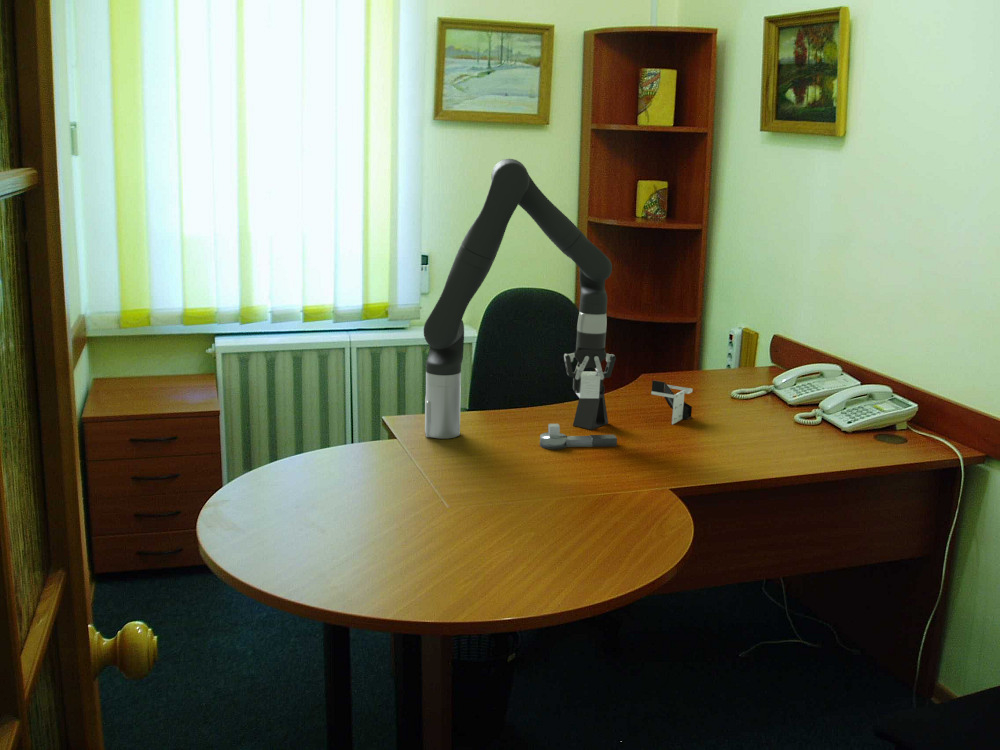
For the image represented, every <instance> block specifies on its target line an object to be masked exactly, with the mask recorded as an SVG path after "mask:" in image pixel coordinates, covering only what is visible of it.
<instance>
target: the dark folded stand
mask: <svg viewBox="0 0 1000 750" xmlns="http://www.w3.org/2000/svg"><path fill="white" fill-rule="evenodd" d="M605 397H606V396H605V385H604V384H603V389H602V391H600V393H599V398H579V397H578V398H579V399H578V402H577V407H576V411H575V416H574V419H573V424H572V426H573V427H576V426H577V428H580V427H581V428H582V429H584V428H585V430H590V431H593V430H596V429H598V428H602V427H603V426H605V425H609V417H608V411H607V405H606V400H605Z"/></svg>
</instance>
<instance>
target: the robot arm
mask: <svg viewBox="0 0 1000 750" xmlns="http://www.w3.org/2000/svg"><path fill="white" fill-rule="evenodd" d="M518 206H519V207H520V208H522V209H523V210H524V211H525V212H526V214H528V215H529V216H530V218H531V219H532V220H533V221H534V222H535V223H536V224H537V226H538V227H539V228H540V230H541V231H542V232H543V233H544V235H545V236H547V238H549V240H550V241H551V242H552V243H553V244H554V245H555V246H556V247H557V248H558V250H560V251H561V252H562V254H563V255H565V256H566V257H567V258H569V259H571V260H572V261H573V262H574V263H575V265H577V266H578V268H579V286H580V287H579V288H580V298H579V310H578V311H579V312H578V313H579V314H578V318H577V325H576V342H575V343H576V344H575V350H574V352H572V353H564V354H563V361H564V365H565V371H566V374H567V376H568V377H569V378H572V389H573V391H574V393H575V394H576V393H579V384H580V380H579V378H580V375H581V373H582V372H583V371H584V370H585V369H588V368H592V369H595V372H596V373H598V375H600V389H599V393H600V391H602V389H603V385H604V380H605V379H606V378H608V379H609V378H611V376H612V372H613V369H614V366H615V363H616V360H617V356H616V355H615V354H613V353H611V354H610V353H607V352H606V337H607V324H608V323H607V321H608V319H607V312H608V311H607V310H608V294H607V290H606V285H605V284H606V281H607V280H608V278H609V277H610V276H611V274H612V272H613V265H612V262H611V260H610V258H608V256H607V255H606V254H605V253H604V252H602V251H601V250H600V249H599V248H598V247H597V246H596V245H594V243H593V242H591V241H590V239H589V238H587V236H586V235H585V234H584V233H583V232H582V231H581V230H580V228H578V227H577V225H576V224H575V223H574V222H573V221H572V220H571V219H569V217H568V216H566V215H565V213H563V212H562V211H561V210H560V209H559V208H558V207H557V206H556V205H555V204H554V203H553V202H552V201H551V200H550V199H549V198H548V197H547V196H546V195H545V194H544V192H542V191H541V189H540V188H539V186H537V184H536V183H535V181H534V180H533V179H532V178H531V176H530V174H529V172H528V170H527V168H526V167H525V165H524V164H523V163H522V162H521V161H519V160H517V159H514V158H505V159H502V160H500V161H498V162H497V163H495V165H494V166H493V168H492V171H491V182H490V186H489V189H488V193H487V196H486V199H485V202H484V203H483V206H482V209H481V211H480V212H479V214H478V215H477V217H476V218H475V220H474V222H473V223H472V225H471V226H470V227H469V228H468V230H467V233H466V234H465V236H464V238H463V240H462V241H461V243H460V246H459V248H458V250H457V253H456V255H455V258H454V260H453V262H452V265H451V268H450V270H449V272H448V273H449V274H448V275H447V278H446V281H445V285H444V287H443V290H442V292H441V294H440V296H439V298H438V300H437V302H436V303H435V305H434V307H433V309H432V311H431V312H430V314H429V316H428V317H427V318H426V321H425V322H424V325H423V337H424V340H425V342H426V343H427V345H429V350H428V351H429V352H428V355H427V358H426V361H425V396H424V397H425V398H424V433H425V438H432V439H433V438H434V439H443V440H444V439H452V438H457V437H459V436H460V434H461V400H462V399H461V398H462V397H461V394H462V393H461V389H462V388H461V387H462V386H461V385H462V365H463V358H464V351H465V350H464V348H465V347H464V346H465V326H464V321H463V318H464V315H465V313H466V311H467V307H468V306H469V304H470V302H471V301H472V299H473V298H474V296H475V295H476V293H477V291H478V290H479V289H480V288H481V286H482V284H483V282H484V281H485V280H486V278H487V275H488V274H489V272H490V270H491V268H492V266H493V264H494V261H495V260H496V257H497V254H498V251H499V250H500V247H501V244H502V242H503V239H504V236H505V233H506V230H507V227H508V225H509V222H510V220H511V218H512V217H513V215H514V213H515V210H517V207H518ZM574 358H575V360H577V364H576V366H575V370H574V372H573V367H572V366H573V365H572V363H573V362H574ZM604 360H605V361H606V366H605V369H604V372H603V369H602V364H601V363H603V361H604Z"/></svg>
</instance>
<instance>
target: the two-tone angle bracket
mask: <svg viewBox="0 0 1000 750" xmlns="http://www.w3.org/2000/svg"><path fill="white" fill-rule="evenodd" d="M651 381H652V383H651V391H650V392H651V393H650V394H651V395H653V396H657V397H658V396H660V397H663V398H664V400H665V401H666V402H667V404H668V406H669V408H670V409H672V416H671V425H675V424H676V423H678V422H680V421H681V420H687V421H688V420H690V419H692V413H693V412H692V411H693V406H691V405H690V404H688V403H687V402H685V394H686V395H689V394H691V393H693V388H690V387H684V386H677V385H671V384H667V383H666V382H665V381H662V380H661V381H660V380H656V379H653V380H651ZM672 389H674V390H680V391H679V392H677V393H674V391H672Z"/></svg>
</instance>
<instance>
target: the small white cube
mask: <svg viewBox="0 0 1000 750" xmlns="http://www.w3.org/2000/svg"><path fill="white" fill-rule="evenodd" d="M579 380H580V384H579V393H576V392H575V394H576V396H577V397H578V398H599V389H600V375H598V373H596V371H591V370H590V371H584V370H583V372H582V373H581V375H580V378H579Z"/></svg>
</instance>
